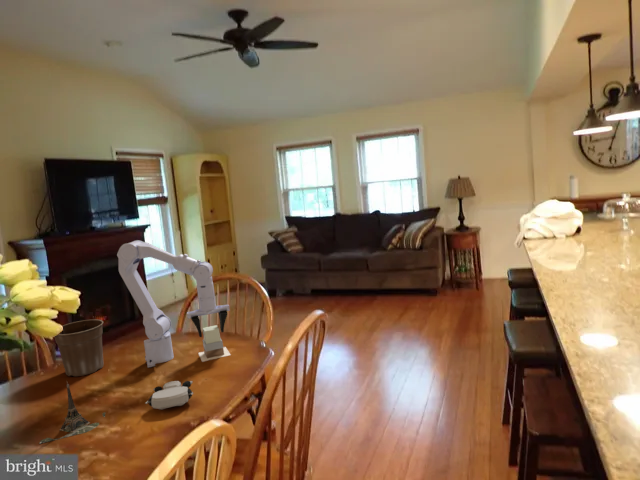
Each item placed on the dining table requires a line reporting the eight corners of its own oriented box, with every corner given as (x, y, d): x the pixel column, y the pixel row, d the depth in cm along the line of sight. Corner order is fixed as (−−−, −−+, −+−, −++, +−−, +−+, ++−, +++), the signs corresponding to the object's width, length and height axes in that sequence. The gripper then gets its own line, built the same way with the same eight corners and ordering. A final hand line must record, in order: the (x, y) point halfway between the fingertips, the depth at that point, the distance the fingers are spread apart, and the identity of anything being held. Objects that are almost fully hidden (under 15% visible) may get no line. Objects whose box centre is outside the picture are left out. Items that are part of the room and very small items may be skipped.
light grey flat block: (206, 351, 162) (205, 344, 162) (203, 346, 167) (202, 339, 167) (223, 347, 164) (222, 340, 164) (220, 342, 170) (219, 336, 169)
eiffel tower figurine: (38, 446, 116) (28, 396, 114) (45, 428, 126) (37, 381, 124) (103, 430, 121) (95, 381, 120) (106, 413, 131) (98, 368, 129)
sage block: (206, 344, 162) (204, 331, 162) (204, 340, 167) (202, 328, 166) (220, 340, 164) (218, 328, 163) (218, 337, 169) (216, 325, 168)
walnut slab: (207, 358, 162) (206, 351, 162) (204, 353, 168) (203, 346, 167) (224, 354, 164) (223, 347, 164) (221, 349, 170) (220, 342, 170)
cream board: (202, 363, 160) (202, 361, 160) (198, 354, 169) (198, 352, 169) (231, 357, 163) (230, 354, 163) (225, 348, 173) (225, 346, 173)
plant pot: (115, 368, 163) (108, 324, 161) (63, 384, 154) (55, 337, 152) (104, 357, 176) (97, 316, 174) (56, 371, 167) (48, 328, 165)
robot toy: (153, 397, 139) (146, 417, 124) (151, 383, 139) (144, 401, 124) (195, 389, 142) (194, 408, 127) (193, 375, 142) (191, 391, 127)
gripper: (186, 302, 157) (192, 341, 159) (229, 295, 162) (234, 332, 164) (184, 298, 164) (189, 335, 165) (225, 291, 169) (229, 327, 171)
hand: (211, 333), depth 165 cm, fingers open, 7 cm apart
